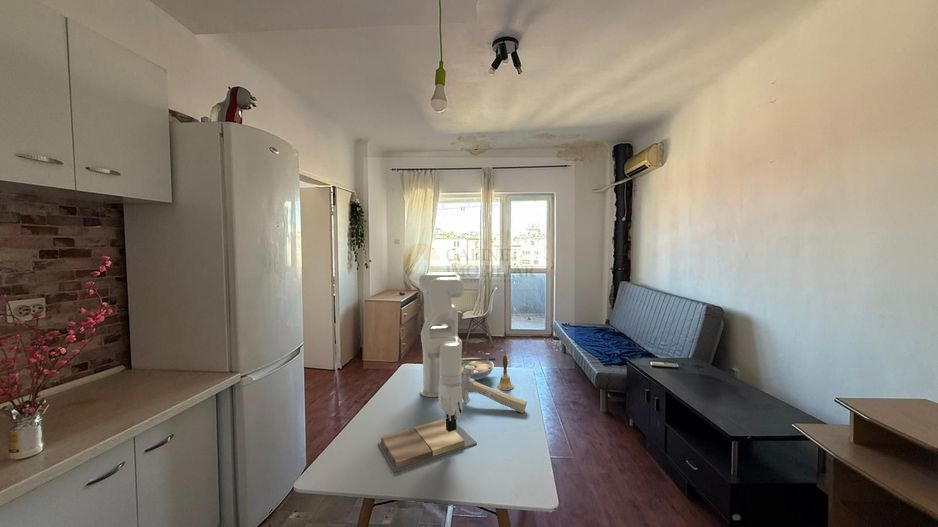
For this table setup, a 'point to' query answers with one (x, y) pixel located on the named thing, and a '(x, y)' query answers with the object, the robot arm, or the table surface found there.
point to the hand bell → (505, 377)
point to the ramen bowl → (478, 366)
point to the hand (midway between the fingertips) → (451, 429)
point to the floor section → (413, 448)
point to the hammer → (488, 392)
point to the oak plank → (439, 437)
